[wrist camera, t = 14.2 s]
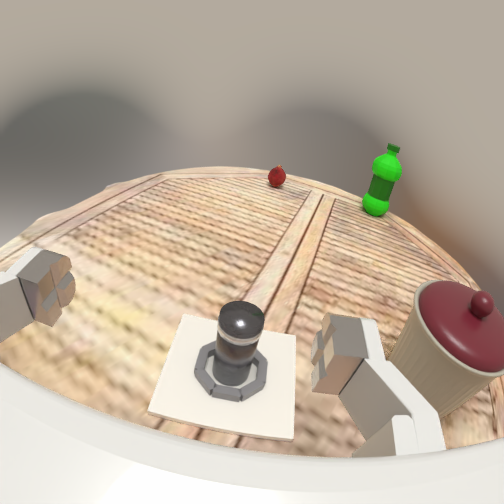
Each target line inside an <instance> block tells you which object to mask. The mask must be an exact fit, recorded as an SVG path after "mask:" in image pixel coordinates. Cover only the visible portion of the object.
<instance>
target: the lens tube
mask: <svg viewBox="0 0 504 504" xmlns="http://www.w3.org/2000/svg"><path fill="white" fill-rule="evenodd" d="M263 327H264V314H263V312H262V311H261V310H260V309H259V308H258V307H257V306H255V305H254V304H251V303H249V302H245V301H233V302H229V303H227V304H226V305H224V306H223V307H222V309H221V311H220V315H219V317H218V324H217V329H218V330H217V337H216V345H215V352H214V360H213V368H212V373H213V376H214V378H215V379H216V380H217V381H218V382H219V383H221V384H223V385H225V386H232V387H233V386H239V385H241V384H243V383H244V382H245V381H246V380H247V379H248V376H249V373H250V369H251V366H252V362H253V359H254V356H255V352H256V349H257V345H258V342H259V338H260V337H261V335H262V331H263Z"/></svg>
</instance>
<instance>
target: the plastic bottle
mask: <svg viewBox="0 0 504 504" xmlns="http://www.w3.org/2000/svg"><path fill="white" fill-rule="evenodd" d="M387 149H388V152H387V153H386V154H384V155H381V156H379V157H377V158H376V159H375V160H374V162H373V166H372V170H373V173H374V175H373V178H372V181H371V185H370V188H369V191H368V192H367V193H366V194H365V195H364V197H363V200H362V203H363V207H364V208H365V210H366V212H367V213H369V214H371V215H373V216H379V215H382V214H385V213H386V212H387V211H388V207H389V197H390V194H391V191H392V189H393V186H394V182H395V181H397V180H399V178H400V176H401V174H402V169H401V168H402V167H401V165H400V163H399V161H398V160H397V158H396V154H397V153H399V149H400V147H398V146H396V145H393V144H390V143H388V147H387Z"/></svg>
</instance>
